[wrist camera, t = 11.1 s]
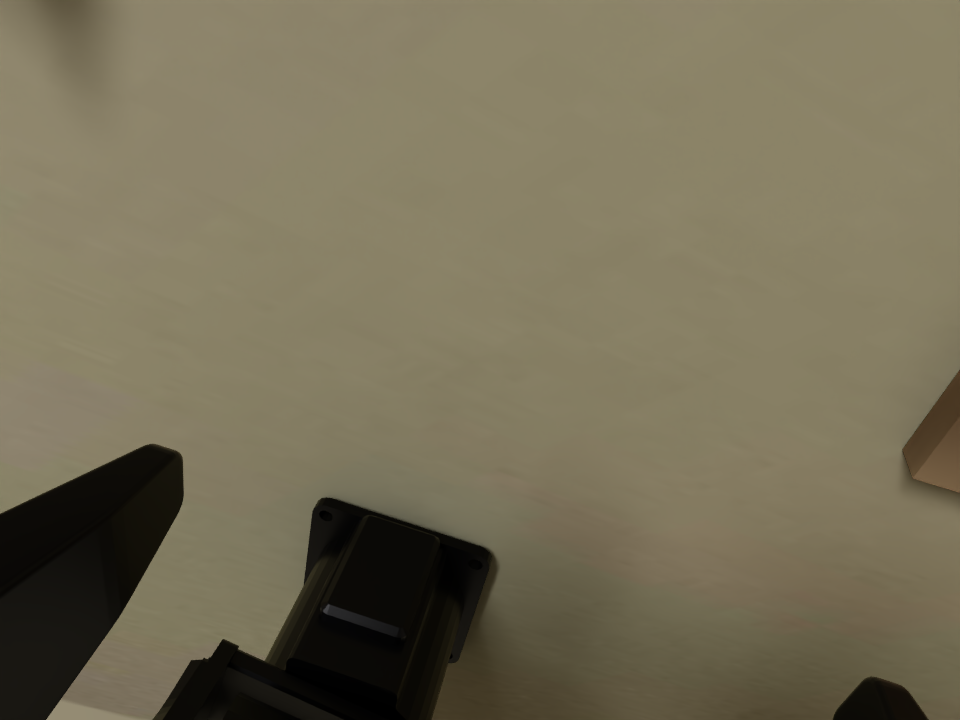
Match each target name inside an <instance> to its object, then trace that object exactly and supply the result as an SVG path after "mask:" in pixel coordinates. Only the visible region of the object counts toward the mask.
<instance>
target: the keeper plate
mask: <svg viewBox="0 0 960 720" xmlns="http://www.w3.org/2000/svg"><path fill="white" fill-rule="evenodd" d="M902 450H903V453H904V456H905V458H906V461H907V464H908V467H909V469H910V472H911V475H912V478H913V479H916V480H920V481H923V482H926V483H929V484H933V485H936V486H939V487H942V488H946V489H949V490H952V491H955V492H959V493H960V370H959V372H958V373H957V375H956V376H955V377H954V379H953V380H952V382H951V383H950V384H949V386H948V387H947V388H946V390H945V391H944V393H943V394H942V395H941V397H940V398H939V400H938V401H937V402H936V404H935V405H934V406H933V408H932V409H931V411H930V412H929V413H928V415H927V416H926V418H925V419H924V420H923V422H922V423H921V424H920V426H919V427H918V429H917V430H916V431H915V433H914V434H913V436H912V437H911V438H910V440H909V441H908V442H907V444H906V445H905V447H904V448H903V449H902Z"/></svg>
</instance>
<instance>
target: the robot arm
mask: <svg viewBox="0 0 960 720" xmlns="http://www.w3.org/2000/svg"><path fill="white" fill-rule="evenodd" d="M183 496H184V487H183V459H182V456H181V454H180V453H179V452H178V451H175V450H172V449H169V448H166V447H163V446H160V445H157V444H149V445H145V446H143V447H140V448H138V449H136V450H134V451H132V452H130V453H128V454H126V455H123V456H121V457H119V458H117V459H115V460H113V461H111V462H109V463H107V464H104V465H102V466H100V467H98V468H96V469H94V470H92V471H90V472H87V473H85V474H83V475H81V476H79V477H77V478H75V479H73V480H71V481H68V482H66V483H64V484H62V485H60V486H58V487H56V488H54V489H52V490H49V491H47V492H45V493H43V494H41V495H39V496H37V497H35V498H32V499H30V500H28V501H26V502H24V503H22V504H20V505H18V506H16V507H13V508H11V509H9V510H7V511H5V512H3V513H1V514H0V720H46V719H47V718H48V716H49V715H50V713H51V712H52V711H53V709H54V708H55V706H56V705H57V704H58V702H59V701H60V699H61V698H62V697H63V695H64V694H65V692H66V691H67V690H68V688H69V687H70V685H71V684H72V683H73V681H74V680H75V678H76V677H77V676H78V674H79V673H80V672H81V670H82V669H83V667H84V666H85V665H86V663H87V662H88V660H89V659H90V658H91V656H92V655H93V653H94V652H95V651H96V649H97V648H98V646H99V645H100V644H101V642H102V641H103V639H104V638H105V637H106V635H107V634H108V632H109V631H110V629H111V628H112V627H113V625H114V624H115V622H116V621H117V619H118V618H119V616H120V615H121V613H122V612H123V610H124V608H125V606H126V605H127V603H128V601H129V600H130V598H131V596H132V595H133V593H134V591H135V589H136V587H137V586H138V584H139V582H140V580H141V579H142V577H143V575H144V573H145V571H146V570H147V568H148V566H149V564H150V562H151V561H152V559H153V557H154V555H155V554H156V552H157V550H158V548H159V546H160V545H161V543H162V541H163V539H164V538H165V536H166V534H167V532H168V530H169V529H170V527H171V525H172V523H173V522H174V520H175V518H176V516H177V514H178V512H179V510H180V508H181V505H182V502H183ZM327 511H328V512H327ZM329 512H330V513H329ZM491 558H492V556H491V554H490V552H488V551H487V550H486V549H485V548H482V547H480V546H477V545H474V544H471V543H468V542H465V541H462V540H459V539H455V538H452V537H449V536H446V535H443V534H440V533H437V532H434V531H431V530H428V529H425V528H421V527H418V526H415V525H412V524H409V523H406V522H403V521H400V520H397V519H394V518H391V517H387V516H384V515H381V514H378V513H375V512H372V511H369V510H366V509H363V508H360V507H357V506H353V505H350V504H347V503H344V502H341V501H338V500H335V499H332V498H321V499H320V500H318V502H317V504H316V506H315V508H314V510H313V513H312V521H311V529H310V537H309V546H308V554H307V562H306V571H305V579H304V586H303V588H302V590H301V592H300V594H299V596H298V598H297V600H296V602H295V604H294V606H293V608H292V609H291V611H290V613H289V615H288V617H287V619H286V621H285V623H284V625H283V627H282V629H281V631H280V633H279V634H278V636H277V638H276V640H275V642H274V644H273V646H272V648H271V650H270V652H269V654H268V656H267V657H266V659H265V661H263V660H261V659H259V658H256V657H254V656H252V655H250V654H248V653H245V652H243V651H241V650H239V649H238V648H239V646H238V645H236V644H233V643H231V642H229V641H227V640H225V639H223V640H222V641H221V643H220V644H219V646H218V647H217V649H216V650H215V652H214V653H213V655H212V656H211V657H209V659H205V658H203V660H191V661H190V663H189V665H188V666H187V668H186V670H185V671H184V673H183V675H182V676H181V678H180V679H179V681H178V683H177V684H176V686H175V688H174V689H173V691H172V692H171V694H170V696H169V697H168V699H167V700H166V702H165V703H164V705H163V706H162V708H161V709H160V711H159V712H158V713H157V715H156V716H155V717H154V718H153V720H431V719H432V716H433V713H434V709H435V706H436V702H437V699H438V696H439V692H440V689H441V685H442V682H443V678H444V675H445V672H446V668H447V665H448V663H455V662H457V661H458V659H459V657H460V654H461V651H462V648H463V645H464V642H465V639H466V636H467V633H468V630H469V627H470V624H471V621H472V618H473V615H474V612H475V609H476V606H477V603H478V600H479V597H480V594H481V591H482V588H483V585H484V583H485V580H486V577H487V574H488V571H489V567H490V564H491ZM474 559H475V560H474ZM476 560H478V561H476ZM833 720H929V719H928V718H927V717H926V715H925V714H924V712H923V711H922V710H921V708H920V707H919V705H918V704H917V703H916V701H915V700H914V698H913V697H912V696H911V694H910V693H909V692H908V691H907V690H906V689H905V688H904V687H902V686H901V685H898V684H896V683H893V682H889V681H886V680H883V679H880V678H877V677H872V676H871V677H868V678H865V679H864V680H863V681H862V682H861V683H860V684H859V685H858V686H857V687H856V689H855V690H854V691H853V692H852V693H851V694H850V695H849V696H848V698H847V699H846V700H845V701H844V702H843V703H842V704H841V705H840V707H839V708H838V709H837V711H836V713H835V715H834V718H833Z"/></svg>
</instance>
